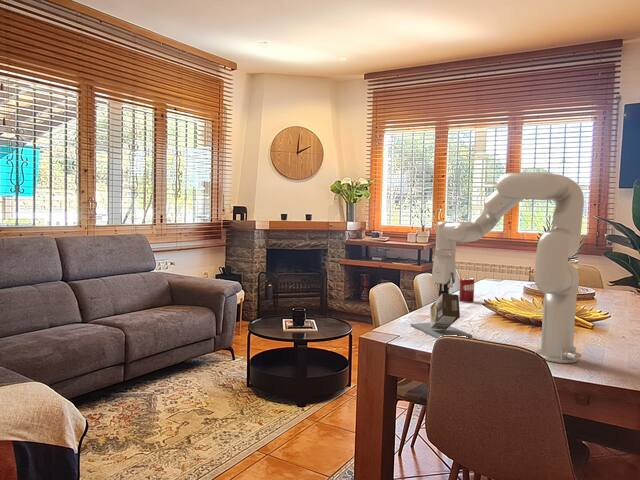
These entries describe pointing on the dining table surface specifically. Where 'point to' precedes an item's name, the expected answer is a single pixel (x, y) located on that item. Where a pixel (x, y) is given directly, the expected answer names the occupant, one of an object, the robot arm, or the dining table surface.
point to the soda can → (466, 290)
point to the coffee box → (444, 311)
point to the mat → (439, 330)
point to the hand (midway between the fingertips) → (443, 300)
